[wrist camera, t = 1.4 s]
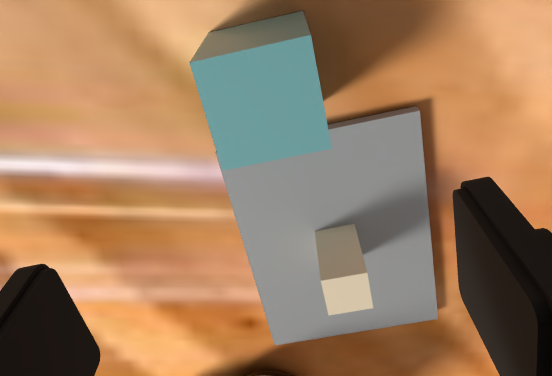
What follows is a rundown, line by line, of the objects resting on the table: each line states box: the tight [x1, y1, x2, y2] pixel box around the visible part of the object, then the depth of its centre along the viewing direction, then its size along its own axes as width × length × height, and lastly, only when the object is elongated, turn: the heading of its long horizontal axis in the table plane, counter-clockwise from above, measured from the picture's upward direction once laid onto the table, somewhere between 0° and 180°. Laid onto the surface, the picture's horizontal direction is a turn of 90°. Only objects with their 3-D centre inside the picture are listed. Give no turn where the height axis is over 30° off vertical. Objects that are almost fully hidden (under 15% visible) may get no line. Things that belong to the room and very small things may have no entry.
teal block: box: [190, 11, 332, 171], centre depth 24 cm, size 5×5×7 cm
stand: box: [216, 106, 438, 345], centre depth 30 cm, size 16×12×6 cm
